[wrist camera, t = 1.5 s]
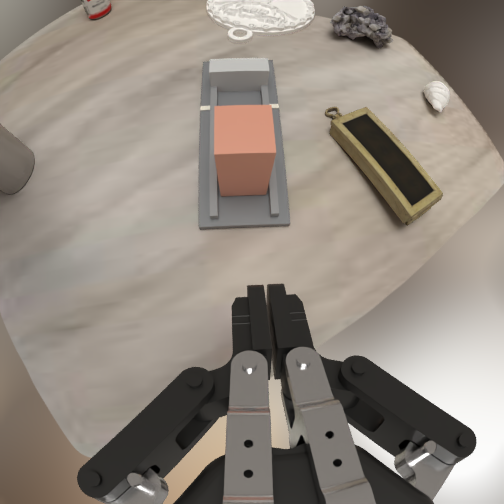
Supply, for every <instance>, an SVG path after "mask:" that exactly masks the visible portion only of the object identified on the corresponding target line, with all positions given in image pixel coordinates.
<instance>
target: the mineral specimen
mask: <svg viewBox="0 0 504 504" xmlns="http://www.w3.org/2000/svg"><path fill="white" fill-rule="evenodd" d="M385 22H386V18H385V17H383V16H380V15H379V14H378V13H374V12H373V9H371V8H370V7H368V6H359V7H345V6H344V7H343V8H342V9H341V10H340V11H339V12H338V13H337V14H336V15H334V16H333V18H332V20H331V22H330V23H332V25H333V26H334V32H335V33H338V36H340V35H342V36H346V35H347V36H348V37H349V38H351V39H355V38H356V37H363V36H367V37H369V38H370V39H372V40H373V41H374V44H375V45H376V47H377V48H381V47H382V46H383V45H382V44H383V43H391V42H392V41H393V39H391V38H390V37H391V33H392V30H391V29H390V28H388V25H387V24H386V23H385Z"/></svg>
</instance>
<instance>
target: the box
mask: <svg viewBox="0 0 504 504" xmlns="http://www.w3.org/2000/svg"><path fill="white" fill-rule="evenodd" d="M334 110H336V111H337V114H335V115H333V114H329V113H328V112H331V111H334ZM325 115H326V116H329V117H332V119H333V120H332V121H331V130H330V135H331V136H332V137H333V138H334V139H335V140H336V141H337V142H338V143H339V144H340V146H341V147H342V148H343V149H344V150H345V151H346V152H347V153H348V154H349V156H350V157H351V158H352V159H353V160H354V162H355V163H356V164H357V165H358V166H359V167H360V169H361V170H362V171H363V172H364V173H365V175H366V176H367V177H368V178H369V180H370V181H371V182H372V183H373V185H374V186H375V187H376V188H377V190H378V191H379V192H380V194H381V195H382V196H383V197H384V199H385V200H386V201H387V203H388V204H389V205H390V207H391V208H392V209H393V211H394V212H395V213H396V214H397V216H398V217H399V218H400V220H401V221H402V222H403V224H404V223H405V224H406V225H409V224H410V223H412V222H413V221H414V220H416V219H417V218H418V217H420V216H421V215H422V214H424V213H425V212H427V211H428V210H429V209H430V208H431V207H432V206H433V205H434V204H436V203H437V202H438V201H439V200H441V198H442V196H443V193H442V192H441V190H440V189H439V188H438V186H437V185H436V184H435V183H434V181H433V180H432V179H431V178H430V176H429V175H428V174H427V173H426V171H425V170H424V169H423V168H422V167H421V165H420V164H419V163H418V162H417V160H416V159H415V158H414V157H413V156H412V155H411V153H410V152H409V151H408V150H407V149H406V148H405V147H404V145H403V144H402V143H401V142H400V141H399V140H398V139H397V138H396V137H395V135H394V134H393V133H392V132H391V131H390V130H389V129H388V128H387V127H386V126H385V125H384V124H383V123H382V122H381V121H380V120H379V119H378V118H377V117H376V116H375V115H374V114H373V113H372V112H371V111H370V110H369V109H368V108H367V107H365V108H362V109H359V110H356V111H354V112H351V113H349V114H346V115H344V116H342V115H341V114H340V113H339V109H338V108H337V107H331V108H328V109H327V110H326V112H325Z"/></svg>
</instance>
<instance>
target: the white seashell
mask: <svg viewBox="0 0 504 504" xmlns="http://www.w3.org/2000/svg"><path fill="white" fill-rule="evenodd" d="M424 94H425V97H426V98H427V100H428V102H430V104H431V105H432V106H433V108H434V109H435V110H438V111H439V112H440V113H441V112H442V109H444V108H445V107H446V105H447V104H448V102H449V98H450V91H449V89H448V88H447V87H446V86H445V84H443V83H442V82H439V81H432V82H430V83H429V84H428V85H426V86H425V89H424Z"/></svg>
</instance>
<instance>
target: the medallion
mask: <svg viewBox="0 0 504 504" xmlns="http://www.w3.org/2000/svg"><path fill="white" fill-rule="evenodd" d="M313 6H314V3H312V2H311V1H310V0H208V1H207V13H208V15H209V17H210V18H211V20H212V21H214V22H215V23H216V24H218V25H219V26H221V27H223V28H226V29H228V30H229V31H228V39H229V40H230V41H231V42H233V43H238V44H241V43H247V42H249V41H250V40H251V39H252V35H258V36H277V35H285V34H291V33H294V32H297V31H300V30H302V29H304V28H306V27H307V26H308V25H310V23H311V22H312V20H313V18H314V14H315V10H314V7H313ZM236 33H242V34H246V36H244V37H236V36H234V34H236Z"/></svg>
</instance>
